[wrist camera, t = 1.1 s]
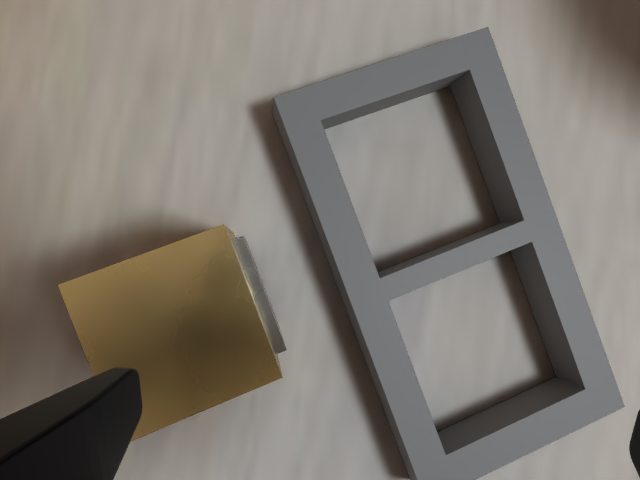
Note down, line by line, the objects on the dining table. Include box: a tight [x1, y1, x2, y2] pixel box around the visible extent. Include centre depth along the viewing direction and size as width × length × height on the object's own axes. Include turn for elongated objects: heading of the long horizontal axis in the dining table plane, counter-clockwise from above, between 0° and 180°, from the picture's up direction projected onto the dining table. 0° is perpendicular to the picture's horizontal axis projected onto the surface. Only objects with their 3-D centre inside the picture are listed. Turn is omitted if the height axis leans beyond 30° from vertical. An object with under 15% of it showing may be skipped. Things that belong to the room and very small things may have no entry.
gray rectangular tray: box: [272, 27, 625, 480], centre depth 20 cm, size 10×18×2 cm, turn 21°
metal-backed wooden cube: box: [58, 224, 286, 442], centre depth 17 cm, size 6×5×6 cm
